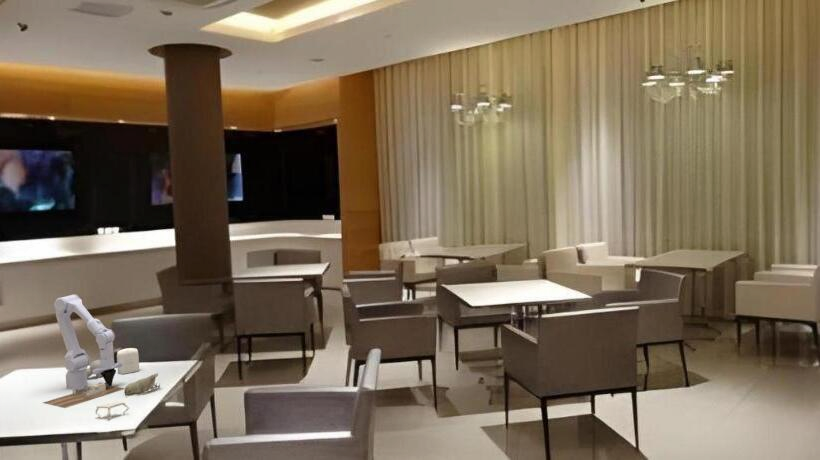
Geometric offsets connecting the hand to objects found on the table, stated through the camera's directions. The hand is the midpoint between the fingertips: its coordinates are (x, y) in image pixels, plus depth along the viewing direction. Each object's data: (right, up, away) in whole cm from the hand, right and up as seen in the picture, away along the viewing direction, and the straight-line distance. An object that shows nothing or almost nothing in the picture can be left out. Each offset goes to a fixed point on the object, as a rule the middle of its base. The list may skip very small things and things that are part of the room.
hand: (109, 385), depth 314 cm
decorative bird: (+18, -2, -7) cm, 20 cm away
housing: (-6, -2, -10) cm, 11 cm away
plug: (-3, -1, -5) cm, 6 cm away
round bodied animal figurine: (-17, -2, +22) cm, 28 cm away
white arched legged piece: (+18, -4, -37) cm, 42 cm away
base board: (-6, -3, -10) cm, 12 cm away
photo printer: (-3, 0, +29) cm, 30 cm away
